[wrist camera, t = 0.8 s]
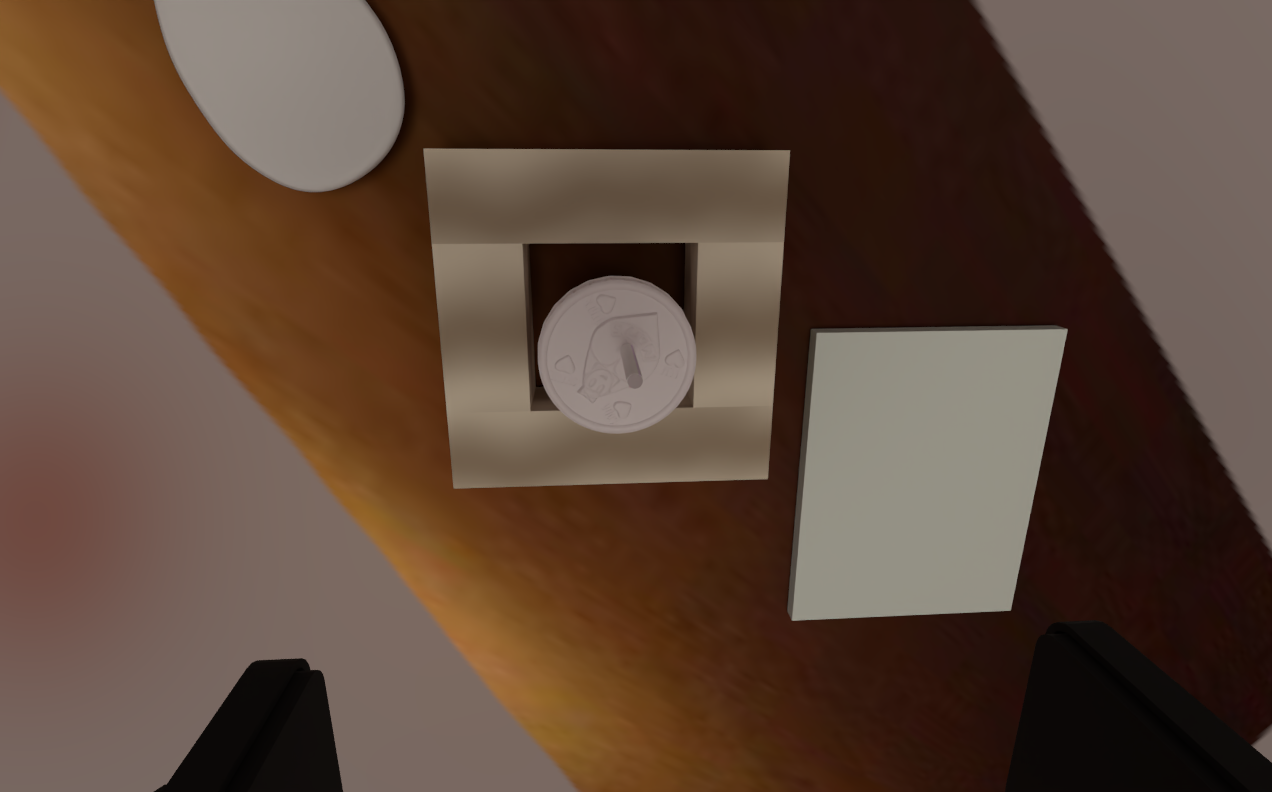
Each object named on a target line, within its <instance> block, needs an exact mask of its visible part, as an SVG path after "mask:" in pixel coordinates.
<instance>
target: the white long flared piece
mask: <svg viewBox="0 0 1272 792" xmlns="http://www.w3.org/2000/svg"><path fill="white" fill-rule="evenodd" d="M154 3H155V8H156V12H157V16H158V20H159V24H160V28H161V31H162V35H163V38H164V41H165V44H166V47H167V50H168V52H169V55H170V57H171V60H172V62H173V64H174V66H175V68H176V70H177V72H178V74H179V76H180V78H181V80H182V82H183V83H184V85H185V87H186V89H187V90H188V92H189V94H190V95H191V97H192V98H193V100H194V102H195V103H196V105H197V106H198V108H199V109H200V111H201V112H202V114H203V115H204V116H205V118H206V119H207V121H208V122H209V124H210V125H211V126H212V128H213V129H214V130H215V132H216V133H217V134H218V135H219V137H220V138H221V139H222V140H223V141H224V143H225V144H226V145H227V146H228V147H229V148H230V149H231V150H232V151H233V152H234V153H235V154H236V155H237V156H238V157H239V158H241V159H242V160H243V161H244V162H245V163H247V164H248V165H249V166H250V167H252V168H253V169H254V170H256V171H257V172H259V173H260V174H262V175H264V176H265V177H267V178H269V179H271V180H272V181H274V182H276V183H278V184H280V185H283V186H285V187H288V188H291V189H294V190H299V191H304V192H324V191H331V190H335V189H338V188H341V187H344V186H346V185H349V184H351V183H353V182H355V181H356V180H358V179H360V178H362V177H363V176H365V175H366V174H368V173H369V172H370V171H371V170H372V169H374V168H375V167H376V166H377V165H378V164H379V163H380V162H381V161H382V160H383V159H384V158H385V156H386V155H387V154H388V152H389V151H390V149H391V148H392V146H393V144H394V143H395V141H396V138H397V136H398V134H399V131H400V128H401V125H402V121H403V116H404V106H405V97H404V86H403V80H402V75H401V70H400V67H399V63H398V60H397V57H396V54H395V51H394V48H393V46H392V43H391V41H390V39H389V37H388V35H387V33H386V31H385V29H384V27H383V25H382V24H381V22H380V20H379V19H378V17H377V16H376V14H375V13H374V11H373V10H372V9H371V7H370V6H369V4H368V3H367V2H366V1H365V0H154Z"/></svg>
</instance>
